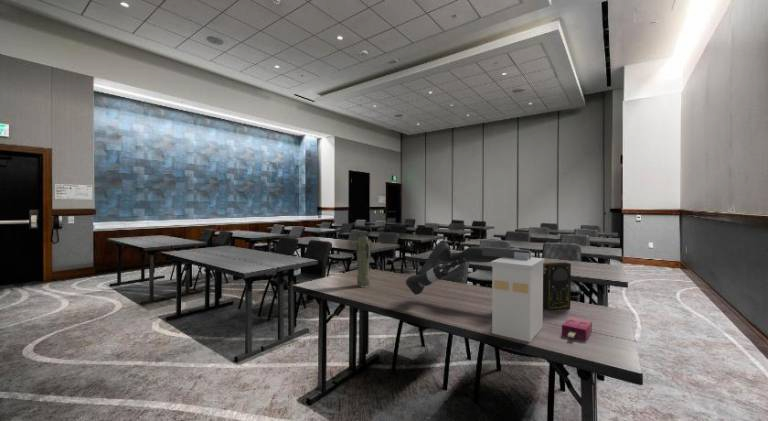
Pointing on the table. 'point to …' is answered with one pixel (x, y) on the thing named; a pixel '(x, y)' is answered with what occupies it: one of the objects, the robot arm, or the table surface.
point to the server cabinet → (517, 297)
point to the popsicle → (577, 328)
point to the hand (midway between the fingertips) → (461, 261)
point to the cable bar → (507, 253)
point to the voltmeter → (556, 285)
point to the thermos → (363, 261)
